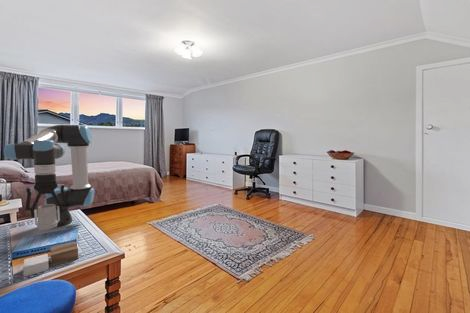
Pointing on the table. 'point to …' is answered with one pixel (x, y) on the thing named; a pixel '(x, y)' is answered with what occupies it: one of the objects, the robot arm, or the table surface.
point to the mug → (47, 216)
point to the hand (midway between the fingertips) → (47, 222)
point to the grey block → (35, 264)
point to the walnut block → (64, 253)
